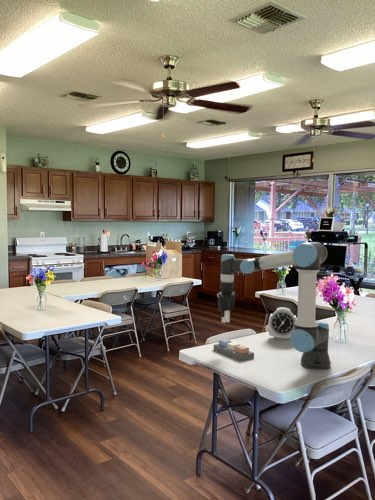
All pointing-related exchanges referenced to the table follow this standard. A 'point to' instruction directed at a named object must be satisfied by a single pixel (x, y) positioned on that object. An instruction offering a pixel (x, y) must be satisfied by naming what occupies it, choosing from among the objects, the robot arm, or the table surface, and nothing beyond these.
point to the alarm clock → (281, 324)
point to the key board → (233, 353)
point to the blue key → (224, 342)
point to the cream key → (232, 346)
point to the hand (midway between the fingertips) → (225, 322)
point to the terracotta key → (242, 349)
